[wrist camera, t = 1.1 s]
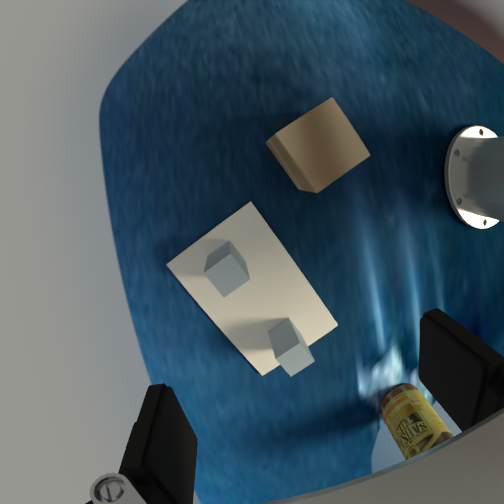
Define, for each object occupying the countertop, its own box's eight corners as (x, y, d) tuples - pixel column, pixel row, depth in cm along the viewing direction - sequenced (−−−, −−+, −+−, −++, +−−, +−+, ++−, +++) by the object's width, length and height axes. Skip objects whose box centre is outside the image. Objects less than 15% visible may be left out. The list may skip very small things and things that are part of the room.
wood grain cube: (310, 112, 28) (332, 97, 22) (342, 158, 29) (370, 155, 23) (264, 142, 28) (275, 133, 22) (298, 189, 30) (317, 193, 23)
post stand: (250, 201, 30) (256, 207, 24) (337, 323, 33) (356, 349, 28) (167, 263, 30) (154, 282, 25) (262, 373, 34) (268, 406, 28)
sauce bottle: (390, 379, 36) (469, 487, 17) (423, 382, 37) (501, 475, 18) (368, 416, 37) (428, 525, 18) (401, 417, 38) (464, 513, 19)
